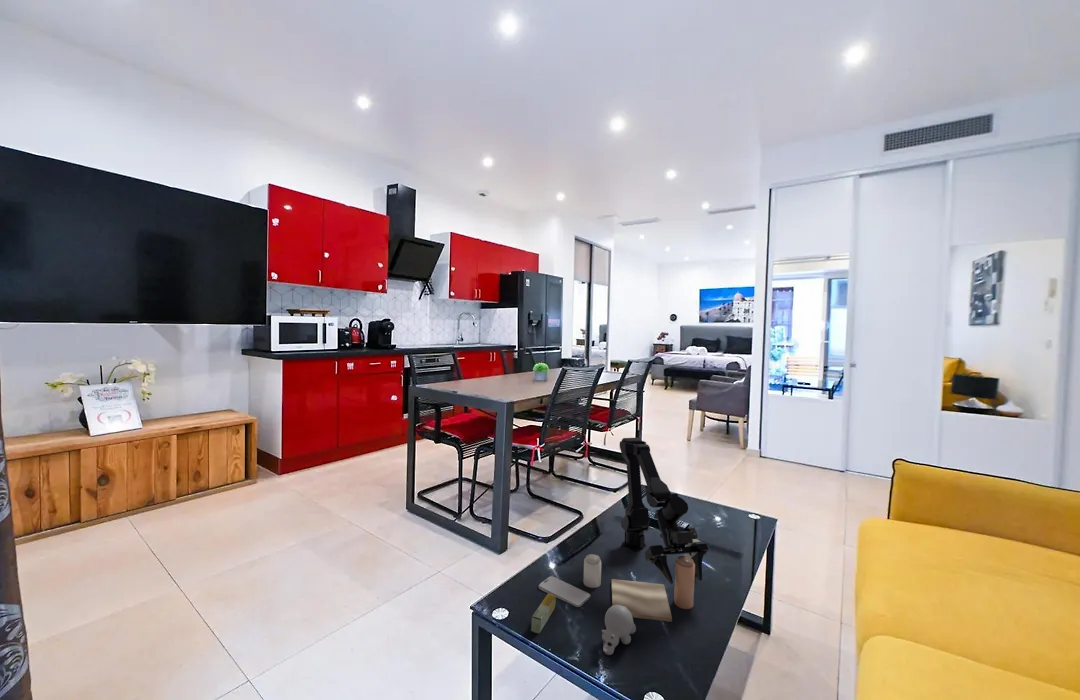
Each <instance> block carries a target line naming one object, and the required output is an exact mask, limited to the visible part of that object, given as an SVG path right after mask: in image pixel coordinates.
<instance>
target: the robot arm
mask: <svg viewBox="0 0 1080 700" xmlns="http://www.w3.org/2000/svg"><path fill="white" fill-rule="evenodd" d="M619 450H620V455H621V456H622V459H624V461H625V463H626V474H627V475H626V476H627V489H628V490H627V491H628V504H627V505H626V508H625V510H624V512H625V515H624V517H623V518H622V519H621V520H620V525H621V526H620V527H621V528H622V529H623V531H624V541H622V542H621V545H622V546H624V547H626V548H629V549H631V550H633V551H635V552H636V551H639V550H641V549H642V548H645V547H646V546H647V544H646V543H645V538H646V537H645V531H647V532H648V530H649V526H650V522H651V517H650V516H649V515H650V514H649V508H648V507H646V506H645V504H644V502H643V494H642V493H643V492H642V489H643V488H642V480H641V479H642V478H641V473H642V476H643V478H644V481H645V484H646V488H645V498H646V502H647V504H648V505H649V506H650V507H651V508H659V509H656V510H655V513H654V515H653V519H655V520H656V521H657V523H658V526H659V530H660V534H659V536H660V539H662V540H663V543H664V546H665V547H664V546H663V545H662V544H656V545H655V544H654V545H650V546H649V547H648V548H647V549H646V550H645V551H644V556H645V557H644V558H645V561H646V562H650V564H653V565H655V566H656V568H657V569H658V570H659V571H660V572H661V574H662V575H663V576H664V578H665V579H666V580H667V581H668V583H669V584H670V585H673V584H674V581H673V576H672V573H671V570H670V567H669V565H668V560H667V559H668V558H667V556H674V555H685V554H687V553H689V555H690V556H692V557H691V559H692V560H693V562H694V563H695V576H696V577H697V579H698V581H699V582H701V581H703V558H704V556H706V555H707V553H708V552H710V547H709V545H708V543H707V542H706V541H700V542H694V543H693V539H697V540H698V533H697V531H696V528H695V527H687V528H686V530H683V528H682V527H681V526H679V524H678V522H679V521H680V519H682V518H683V517H684V516H685V515H686V514H688V511H689V504H688V503H687V502H686V500H685V499H683V498H682V497H681V496H679V495H678V493H677V492H676V493H674V492H673V493H672V492H671V491H670V489H669V486H668V485H667V484H666V482H664V481H663V480H662V479H661V477H660V474H659V472H658V469H657V467H656V464H655V461H654V459H653V457H652V453H651V447H650V445H649V444H647V441H644V440H642V439H641V438H640V437H623V438H622V439H621V441H619ZM688 543H693V544H691V545H690V546H687V547H685V546H686V545H687V544H688Z"/></svg>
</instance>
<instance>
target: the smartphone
mask: <svg viewBox="0 0 1080 700" xmlns="http://www.w3.org/2000/svg"><path fill="white" fill-rule="evenodd" d="M538 589H539V590H541V591H542V592H544V593H547V594H548V593H550V594H553V595H556V599H559V600H561V601H563V602H565V603H568V604H570V605H572V606H574V607H576V608H580V607H581V606H583V605H584V604H585V603H586V602H587V601H588V600H589V599H591V593H589V592H587V591H585V590H583V589H580V588H579V587H576V586H574V585H572V584H571V583H568V582H566V581H564V580H561V578H557V577H556V576H553V575H550V576H548V577H547V578H545V579H543V581H541V582H540V583H539V584H538Z"/></svg>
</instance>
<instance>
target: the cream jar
mask: <svg viewBox="0 0 1080 700" xmlns="http://www.w3.org/2000/svg"><path fill="white" fill-rule="evenodd" d="M601 581H602V559H601V557H600V556H599V555H597V554H593V553H589V554H587V555H586V556H585V558H584V559H583V581H582V582H583V585H584V586H586V587H587V588H589V589H595V588H599V587H600V586H601V584H602V582H601Z"/></svg>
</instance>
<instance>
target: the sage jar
mask: <svg viewBox="0 0 1080 700" xmlns="http://www.w3.org/2000/svg"><path fill="white" fill-rule="evenodd" d="M694 542H701V541H700V540H699V539H698V538H697V539H693V543H694ZM693 543H688V544H687V545H685V547H687V546H690V545H691V544H693ZM684 556H687V557H690V558H691V557H692V556H690V555H689V553H687V554H684Z"/></svg>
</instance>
